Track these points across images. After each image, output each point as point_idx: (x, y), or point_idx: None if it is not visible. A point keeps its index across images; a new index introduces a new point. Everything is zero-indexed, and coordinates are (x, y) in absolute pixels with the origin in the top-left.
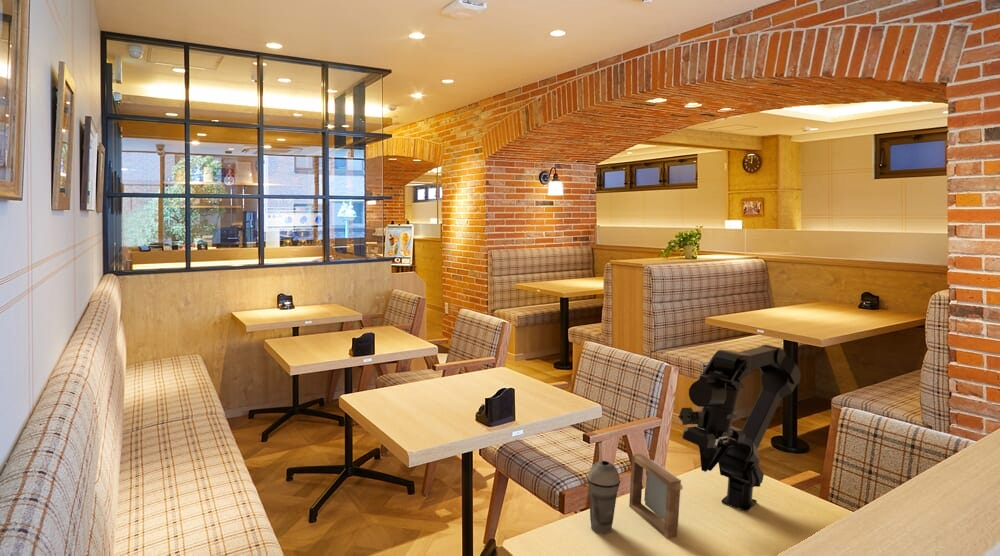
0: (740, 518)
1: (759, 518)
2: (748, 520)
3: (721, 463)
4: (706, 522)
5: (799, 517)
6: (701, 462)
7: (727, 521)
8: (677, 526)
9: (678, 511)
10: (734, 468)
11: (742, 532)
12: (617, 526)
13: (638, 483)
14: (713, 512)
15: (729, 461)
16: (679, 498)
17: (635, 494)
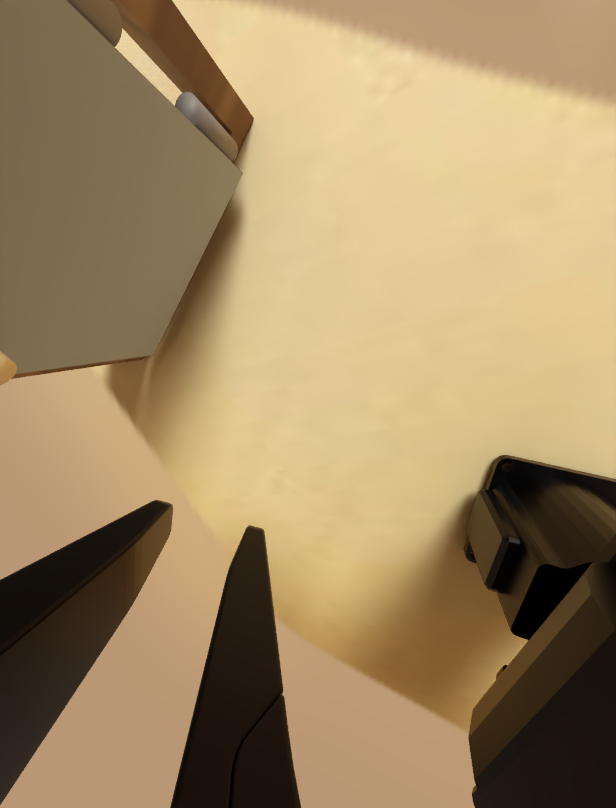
0: (393, 528)
1: (434, 587)
2: (394, 553)
3: (593, 623)
4: (289, 425)
5: None
6: (72, 549)
7: (342, 489)
8: (150, 354)
9: (97, 361)
10: (510, 717)
11: (297, 535)
12: None
13: (127, 24)
14: (384, 435)
15: (581, 746)
16: (30, 370)
17: (168, 73)
